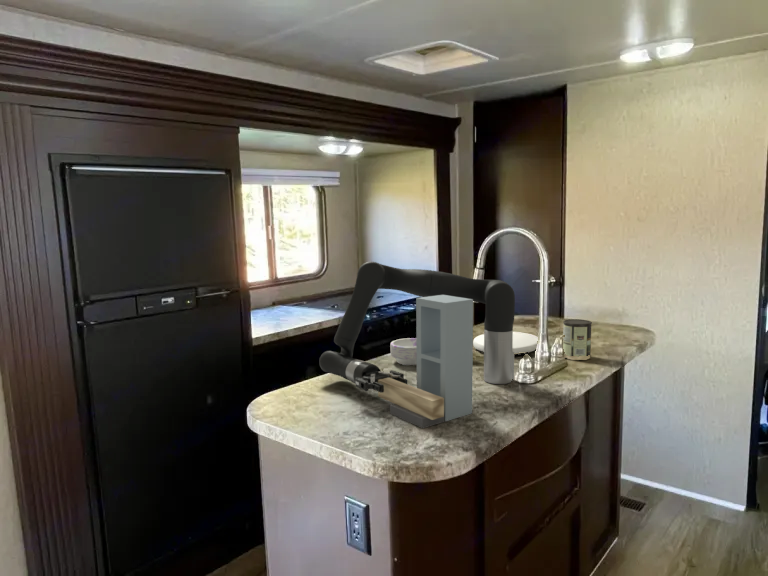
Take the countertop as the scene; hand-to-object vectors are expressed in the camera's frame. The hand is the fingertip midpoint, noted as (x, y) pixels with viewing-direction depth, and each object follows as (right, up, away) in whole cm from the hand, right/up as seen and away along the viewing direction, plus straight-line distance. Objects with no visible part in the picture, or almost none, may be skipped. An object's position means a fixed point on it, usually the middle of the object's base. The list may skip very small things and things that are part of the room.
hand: (394, 386), depth 160 cm
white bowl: (+7, 0, +51) cm, 51 cm away
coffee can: (+71, +1, +55) cm, 89 cm away
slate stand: (+14, -7, -2) cm, 16 cm away
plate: (+47, +2, +70) cm, 85 cm away
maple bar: (+4, -5, -5) cm, 8 cm away
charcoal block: (+6, -7, -7) cm, 12 cm away
